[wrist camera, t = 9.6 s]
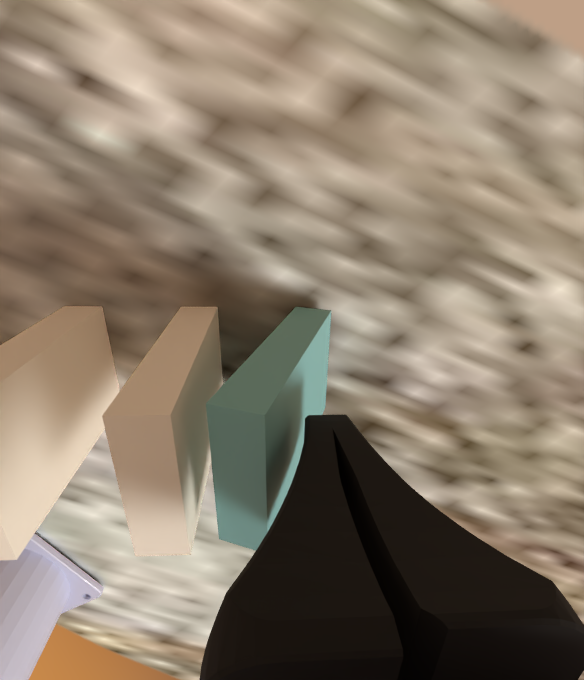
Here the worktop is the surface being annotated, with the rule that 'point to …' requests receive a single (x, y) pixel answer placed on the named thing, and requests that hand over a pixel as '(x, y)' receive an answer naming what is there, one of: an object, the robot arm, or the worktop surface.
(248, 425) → the end tile
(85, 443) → the domino
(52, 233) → the worktop surface
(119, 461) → the domino
